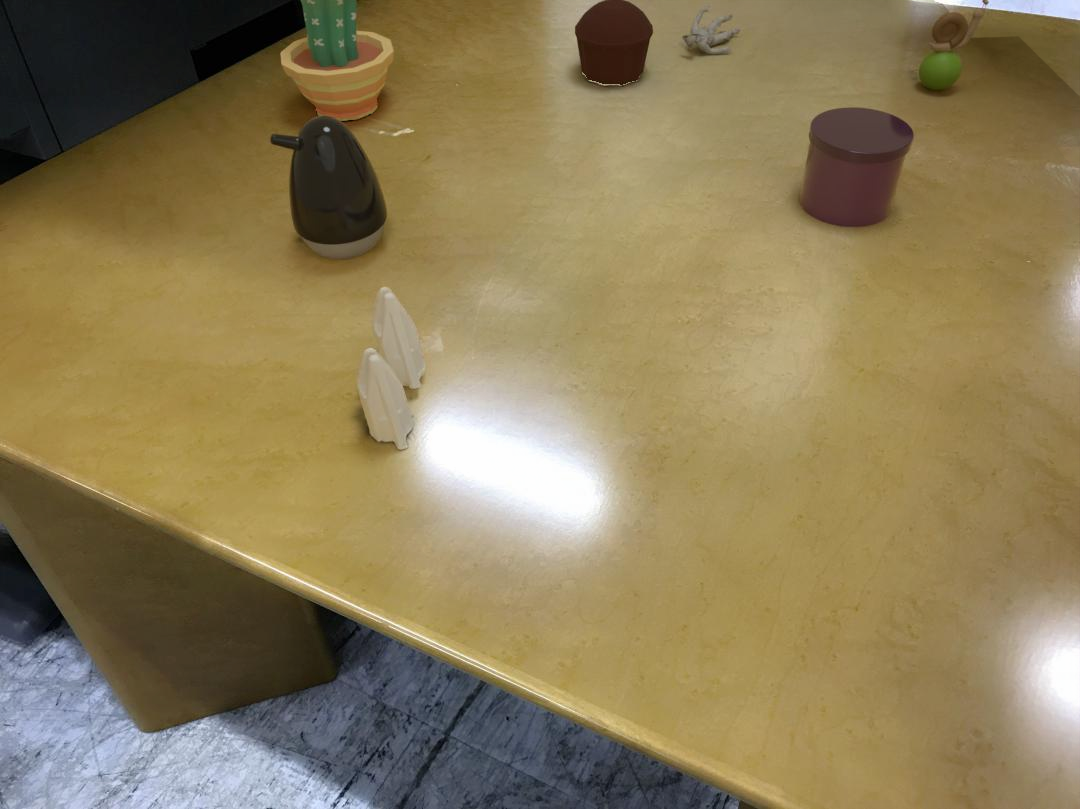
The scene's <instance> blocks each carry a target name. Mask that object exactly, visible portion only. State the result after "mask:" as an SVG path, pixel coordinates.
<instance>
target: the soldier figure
mask: <svg viewBox="0 0 1080 809" xmlns="http://www.w3.org/2000/svg"><path fill="white" fill-rule="evenodd" d="M711 7H712V5H711V4H707V5H704V6H703V7H702V8H701V9H700V10H699V12H698V13H697V15H696V17H695V18H694V19H693V21H692V24H691V28H690V34H684V35H682V36H681V38H682V39H683V42H685V45H686V46H687V49H688V51H690V50H691V49H692V47H693V46H694V45H695V46H696V47H697V48H698V49H699V50H700V51H702V52H704V53H706V54H707V55H720V54H723V53H726V54H729V52H732V51H733V47H731V46H726V47H723V48H712V46H716V45H718V44H721V43H723V42H724V41H729V40H730V39H731V36H734V35H738V34H739V33H740V32H741V28H740V27H736V28H734V29H731V30H729V31H727V30H725V31H724V32H721V33H716V31H717V29H718V28H719V27H721V25H722V24H724V23H726V22H729V21H731V20H732V18H733V17H734V14H733V13H732V12H730V13H728V14H726V15H725V16H723V17H716V19H714V20H712V21H711V23H710V24H709V25H708V27H707V26H702V27H699V23H700V22H701V20H702V17H703V15H704V13H708V12H710V10H708V9H709V8H711ZM715 33H716V34H715Z"/></svg>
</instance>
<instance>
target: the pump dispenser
mask: <svg viewBox="0 0 1080 809" xmlns="http://www.w3.org/2000/svg"><path fill="white" fill-rule="evenodd" d="M298 132H299V133H298V134H297V135H287V134H279V133H271V135H270V139H269V141H270V144H271V145H273V146H276V147H280V148H283V149H284V148H285V149H287V150H288V149H289V150H292V154H291V160H290V166H289V168H290V169H289V178H288V179H289V180H288V194H289V207H290V215H291V221H292V225H293V229H294V230H295V232H296V233H297V235H299V237H300V238H301V239H302V241H303V243H304V244H305V245H306V246H307V247H308V248H309V249H310V250H311V251H313V252H314V253H315V254H316V255H319V256H321V257H323V258H326V259H330V260H339V261H341V260H352V259H355V258H358V257H361V256H363V255H365V254H367V253H368V252H370V251H371V250H372V249H373V248H374V247H375V246H376V245H377V244H378V243H379V240H380V239H381V237H382V235H383V232H384V228H385V223H386V221H387V217H388V209H387V204H386V200H385V199H386V198H385V196H384V192H383V189H382V186H381V183H380V180H379V177H378V175H377V172H376V170H375V168H374V165H373V163H372V162H371V160H370V157H369V156H368V154H367V153H366V151H365V149H364V148H363V146H362V144H361V143H360V141H359V140H358V138H357V137H356V135H355V133H353V132H352V131H351V130H350V128H349V127H348V126H347V125H346V124H345V122H341V121H340V120H338V119H336V118H333V117H329V116H315V117H312V118H310V119H309V120H307V121H306V122H305V123H304V124H303V125H302V127H301V129H300V131H298Z"/></svg>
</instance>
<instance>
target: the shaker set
mask: <svg viewBox="0 0 1080 809" xmlns="http://www.w3.org/2000/svg"><path fill="white" fill-rule="evenodd" d="M371 328H372V333H373V337H374V342H375V344H376V349H377V350H376V349H375V348H373V347H368V348H366V349H364V351H363V352H362V355H361V358H360V361H359V366H358V372H357V379H356V388H357V392H358V396H359V400H360V404H361V407H362V410H363V414H364V419H365V420H366V423H367V425H366V426H367V427H368V430H369V434H370V435H371V437H373V439H374V440H376V442H384V443H389V442H393V443H394V445H395V447H396V450H402V451H404V450H406V449H408V448H409V447H410V445H409V443H408V442H407V436H408V434H409V435H410V432H411V431H412V430H413V427H414V421H413V418H412V414H411V410H410V406H409V402H408V398H407V395H406V391H405V388H404V387H408V388H410V389H413V390H414V389H418V388H420V387H421V386H422V384H421V381H420V380H421V378H422V377H423V376H424V375H425V371H426V361H425V359H424V354H423V350H422V345H421V341H420V335H419V331H418V329H417V326H416V324H415V322H414V320H413V319H412V317H411V316H410V314H409V313H408V311H407V310H406V308H405V307H404V306H403V305H402V303H401V302H400V300H399V299H398V298H397V296H396V295H395V294H394V292H393V291H392V289H391V288H390V287H387V286H382V287H380V289H379V290H378V292H377V295H376V298H375V302H374V306H373V312H372V319H371Z"/></svg>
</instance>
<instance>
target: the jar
mask: <svg viewBox="0 0 1080 809" xmlns="http://www.w3.org/2000/svg"><path fill="white" fill-rule="evenodd" d="M914 133H915V132H914V130H913V128H912V126H910V124H908V122H907V121H905V120H903V119H902V118H900V117H898V116H896V115H894V114H891V113H889V112H885V111H882V110H878V109H873V108H868V107H867V108H866V107H857V106H855V107H854V106H853V107H851V106H850V107H837V108H833V109H827V110H825V111H822V112H821V113H819V114H817V115H816V116H814V118H813V119H812V120H811V122H810V125H809V129H808V139H809V145H808V151H807V155H806V161H805V165H804V170H803V176H802V181H801V186H800V190H799V195H798V196H799V197H798V202H799V206H800V207H801V209H802V210H803V211H804V212H805V213H806V214H807V215H809V216H811V217H812V218H814V219H816V220H817V221H820V222H822V223H826V224H829V225H832V226H839V227H846V228H862V227H869V226H873V225H877V224H879V223H881V222H882V221H884V220H885V219H887V218H888V216H889V215H890V213H891V210H892V206H893V203H894V199H895V195H896V192H897V189H898V185H899V180H900V178H901V175H902V174H901V173H902V170H903V166H904V163H905V159H906V156H907V154H908V153H909V152H910V151H911V149H912V146H913V143H914V138H915V134H914Z"/></svg>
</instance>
